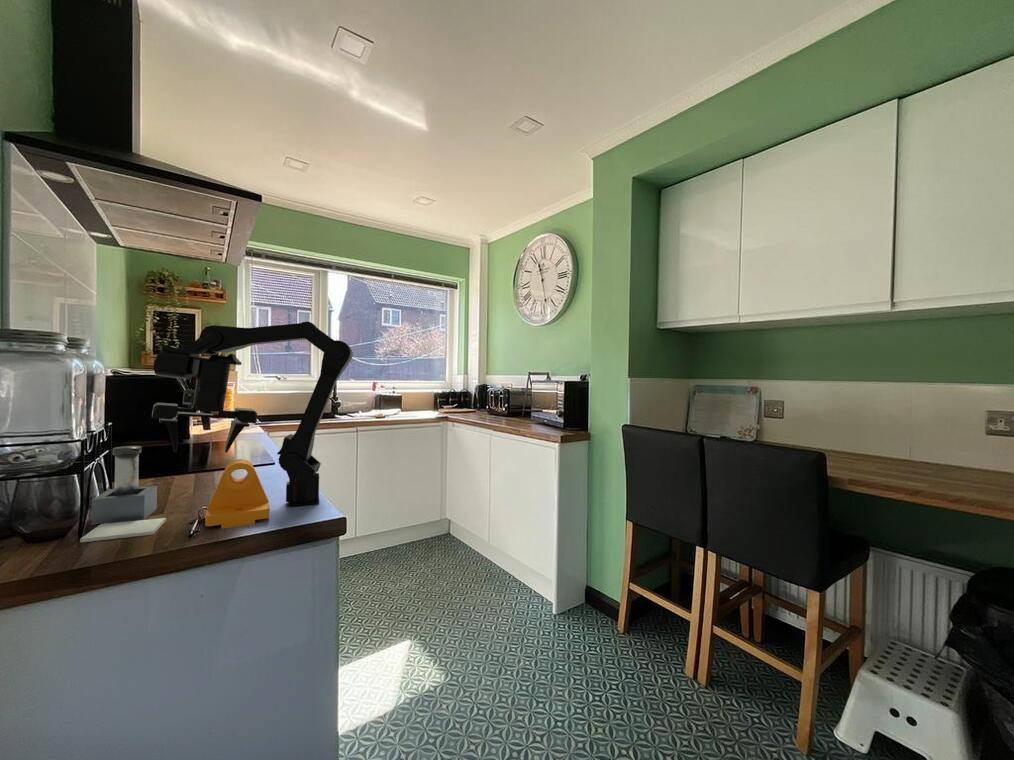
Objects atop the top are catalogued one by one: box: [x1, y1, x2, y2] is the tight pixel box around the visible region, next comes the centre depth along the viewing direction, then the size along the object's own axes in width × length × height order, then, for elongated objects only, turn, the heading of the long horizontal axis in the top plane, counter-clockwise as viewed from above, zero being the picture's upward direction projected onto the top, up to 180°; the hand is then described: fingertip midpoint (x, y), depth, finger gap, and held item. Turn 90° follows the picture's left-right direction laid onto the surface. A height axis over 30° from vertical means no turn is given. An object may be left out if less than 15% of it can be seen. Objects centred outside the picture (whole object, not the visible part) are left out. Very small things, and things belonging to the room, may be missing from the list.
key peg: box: [112, 445, 143, 496], centre depth 86 cm, size 4×4×12 cm
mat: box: [79, 517, 167, 543], centre depth 79 cm, size 10×8×1 cm
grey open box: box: [90, 485, 158, 526], centre depth 86 cm, size 8×8×5 cm
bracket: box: [204, 458, 271, 529], centre depth 86 cm, size 11×7×12 cm
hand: (201, 451), depth 93 cm, fingers open, 9 cm apart
